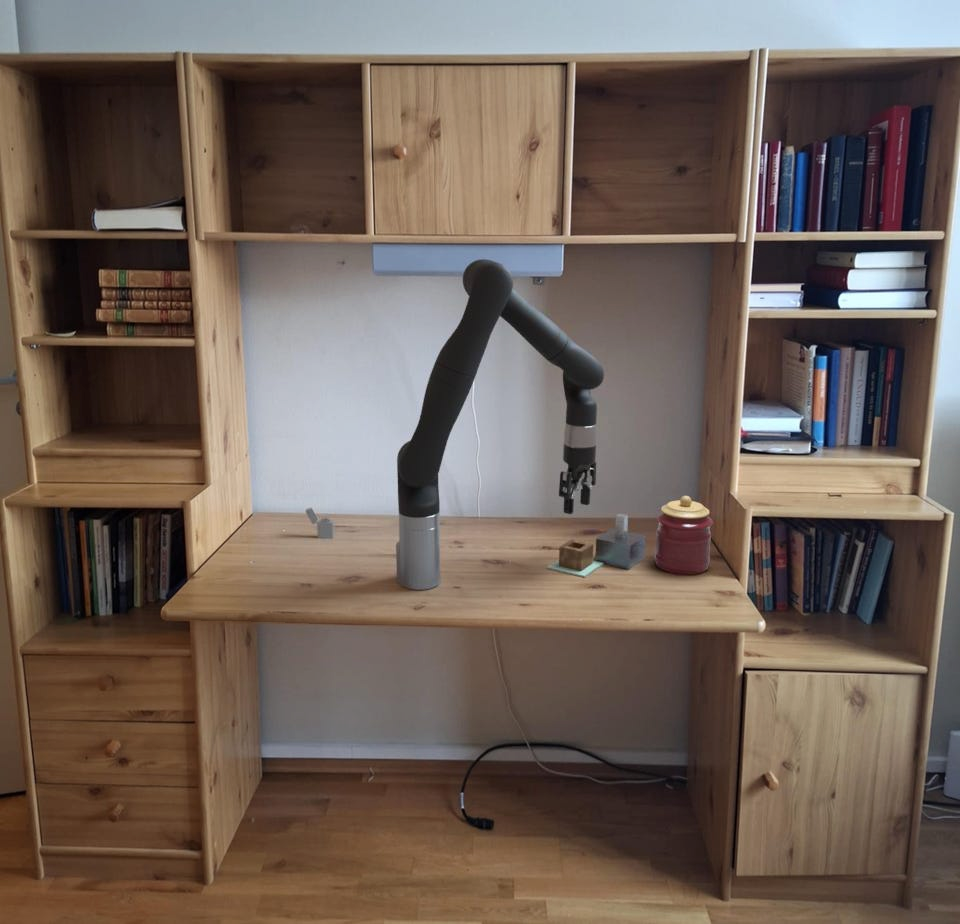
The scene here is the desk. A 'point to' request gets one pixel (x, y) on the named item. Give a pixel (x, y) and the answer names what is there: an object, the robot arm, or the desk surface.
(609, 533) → the block
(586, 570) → the mat
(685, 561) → the canister
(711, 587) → the desk surface
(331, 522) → the lighter
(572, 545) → the hollow wooden block
